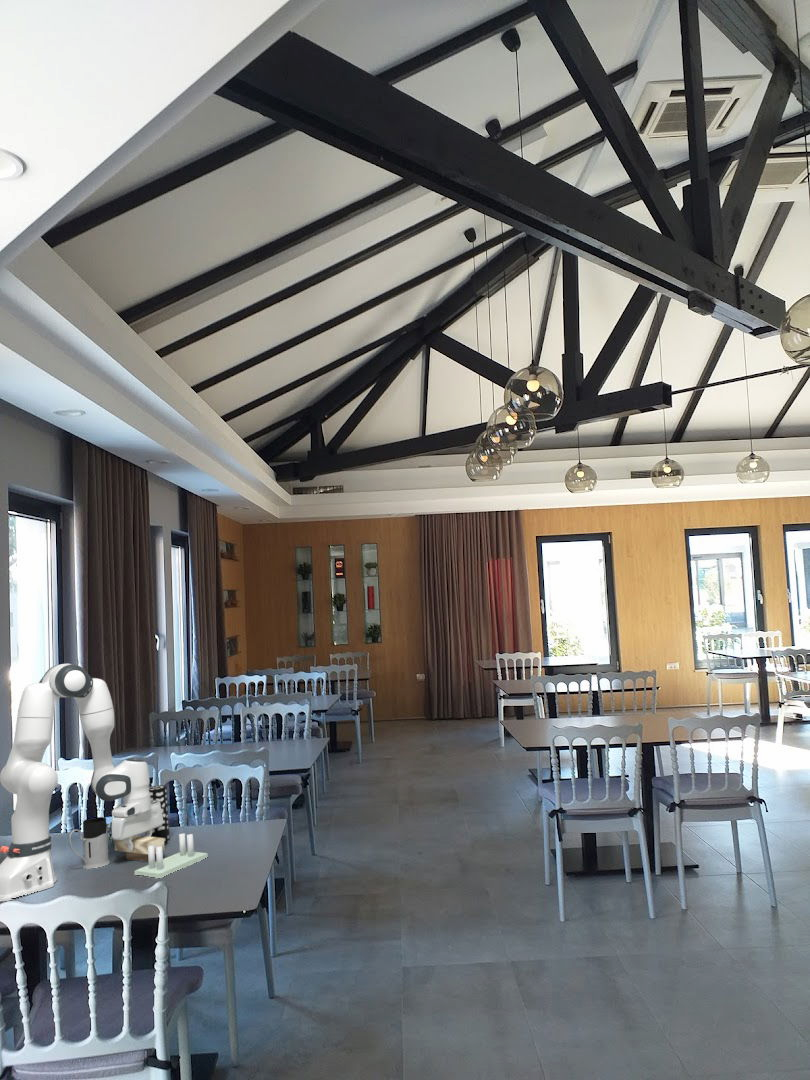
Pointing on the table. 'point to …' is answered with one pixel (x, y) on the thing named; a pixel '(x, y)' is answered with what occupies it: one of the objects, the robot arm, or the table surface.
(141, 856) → the riser
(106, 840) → the electric kettle
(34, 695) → the robot arm
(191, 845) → the peg stand
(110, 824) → the passion flower
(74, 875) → the table surface
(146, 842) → the plank
